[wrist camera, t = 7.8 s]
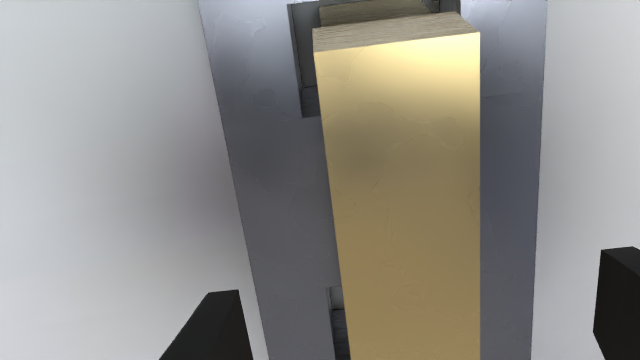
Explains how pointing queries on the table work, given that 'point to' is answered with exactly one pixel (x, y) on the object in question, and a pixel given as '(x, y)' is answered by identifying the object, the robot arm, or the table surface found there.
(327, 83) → the wooden bridge block
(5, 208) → the table surface
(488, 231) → the rail
